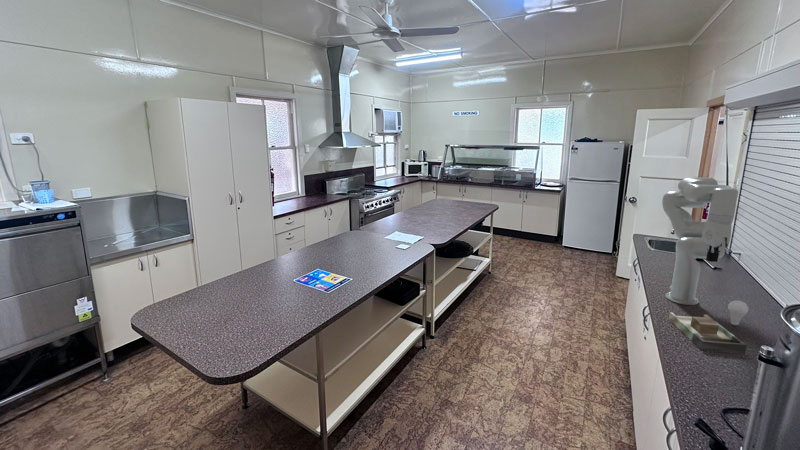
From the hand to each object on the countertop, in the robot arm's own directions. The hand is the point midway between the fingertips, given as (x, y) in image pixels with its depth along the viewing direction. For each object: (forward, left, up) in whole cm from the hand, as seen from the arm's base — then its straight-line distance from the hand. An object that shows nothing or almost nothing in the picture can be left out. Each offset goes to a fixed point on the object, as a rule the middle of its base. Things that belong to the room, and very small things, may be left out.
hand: (711, 260), depth 145 cm
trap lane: (+14, -6, -27) cm, 31 cm away
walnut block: (+13, -6, -25) cm, 29 cm away
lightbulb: (+3, +11, -27) cm, 30 cm away
